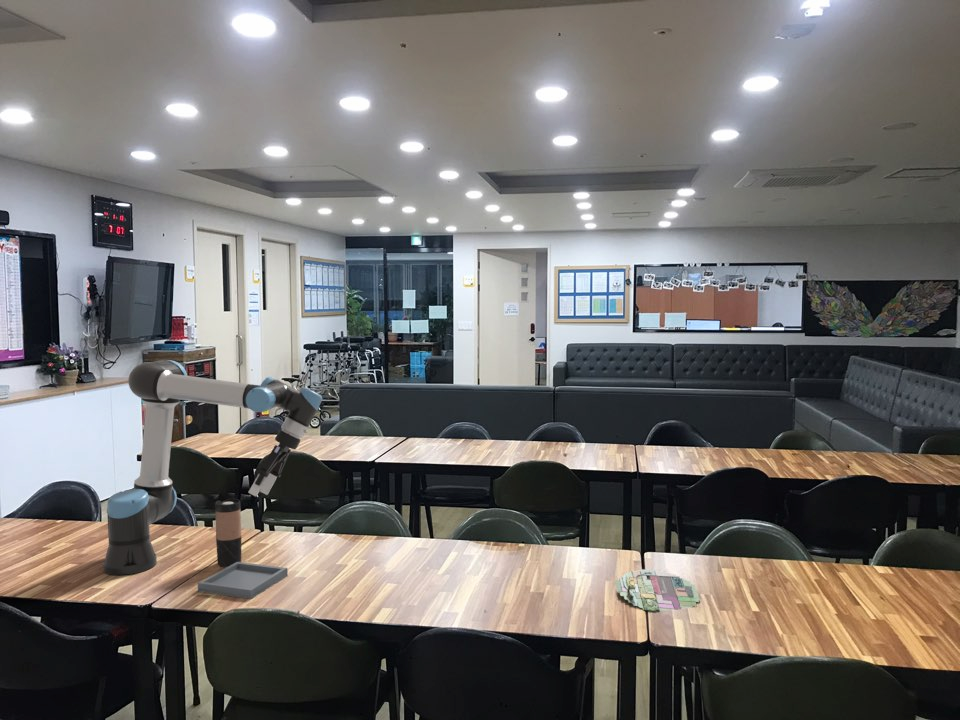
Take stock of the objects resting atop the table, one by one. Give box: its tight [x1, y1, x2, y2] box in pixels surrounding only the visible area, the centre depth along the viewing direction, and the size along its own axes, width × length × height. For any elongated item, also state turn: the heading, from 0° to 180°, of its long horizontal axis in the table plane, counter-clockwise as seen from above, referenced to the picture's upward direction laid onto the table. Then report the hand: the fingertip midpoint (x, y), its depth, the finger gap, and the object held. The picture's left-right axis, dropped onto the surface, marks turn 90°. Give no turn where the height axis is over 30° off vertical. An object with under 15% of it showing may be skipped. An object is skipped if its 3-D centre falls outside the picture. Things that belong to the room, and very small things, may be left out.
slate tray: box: [197, 561, 289, 600], centre depth 208 cm, size 18×18×2 cm
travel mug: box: [214, 498, 242, 568], centre depth 225 cm, size 8×8×20 cm
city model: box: [615, 569, 701, 613], centre depth 198 cm, size 25×23×6 cm
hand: (258, 493), depth 224 cm, fingers open, 13 cm apart
